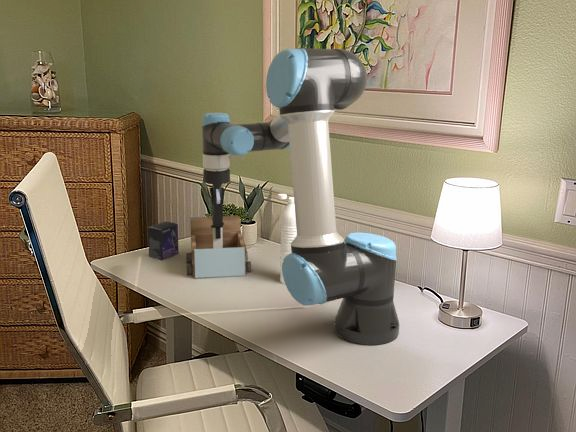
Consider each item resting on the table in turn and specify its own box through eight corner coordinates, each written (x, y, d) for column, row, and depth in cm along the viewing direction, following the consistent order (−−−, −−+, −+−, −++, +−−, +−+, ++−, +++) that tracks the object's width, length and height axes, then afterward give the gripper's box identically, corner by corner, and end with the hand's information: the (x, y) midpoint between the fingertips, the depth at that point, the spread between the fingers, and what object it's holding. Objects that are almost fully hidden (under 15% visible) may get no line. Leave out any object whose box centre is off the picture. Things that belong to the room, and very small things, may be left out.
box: (162, 263, 189) (160, 229, 186) (148, 259, 191) (146, 226, 188) (179, 256, 195) (178, 223, 192) (166, 252, 198) (164, 220, 195)
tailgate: (245, 277, 176) (245, 248, 174) (194, 280, 174) (193, 250, 172) (245, 276, 177) (244, 247, 175) (194, 279, 175) (193, 249, 173)
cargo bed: (251, 276, 178) (251, 233, 175) (187, 280, 175) (185, 236, 172) (245, 255, 196) (244, 215, 193) (186, 257, 193) (184, 217, 190)
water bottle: (308, 284, 174) (310, 197, 167) (291, 290, 169) (292, 201, 162) (286, 275, 180) (287, 192, 173) (270, 281, 175) (270, 195, 169)
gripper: (231, 172, 169) (232, 254, 175) (228, 163, 181) (229, 240, 188) (204, 173, 168) (206, 255, 174) (202, 164, 180) (204, 241, 186)
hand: (218, 247), depth 181 cm, fingers closed
